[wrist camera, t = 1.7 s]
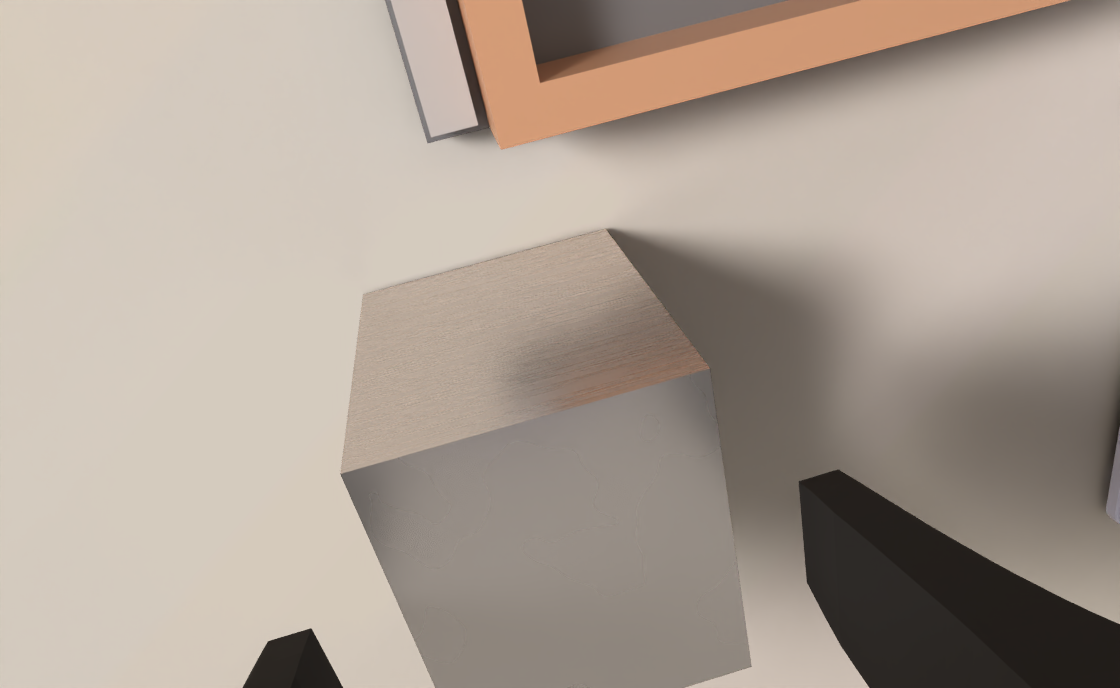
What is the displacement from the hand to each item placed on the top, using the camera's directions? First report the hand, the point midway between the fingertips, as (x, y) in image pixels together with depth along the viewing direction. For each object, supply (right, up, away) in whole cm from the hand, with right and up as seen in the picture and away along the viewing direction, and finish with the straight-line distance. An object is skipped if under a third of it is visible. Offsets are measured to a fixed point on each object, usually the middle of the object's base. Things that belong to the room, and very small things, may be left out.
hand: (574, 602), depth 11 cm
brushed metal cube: (-1, +3, +6) cm, 6 cm away
